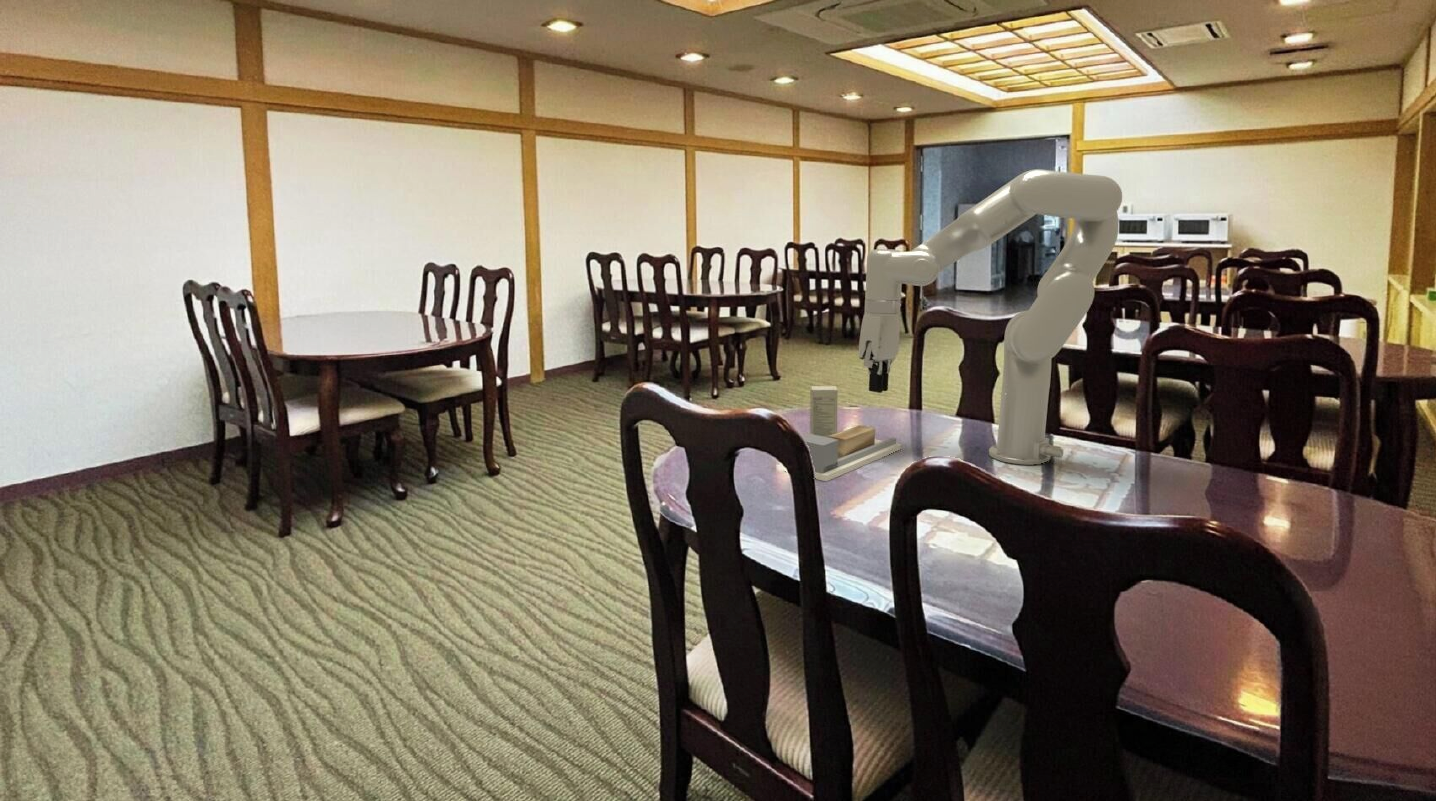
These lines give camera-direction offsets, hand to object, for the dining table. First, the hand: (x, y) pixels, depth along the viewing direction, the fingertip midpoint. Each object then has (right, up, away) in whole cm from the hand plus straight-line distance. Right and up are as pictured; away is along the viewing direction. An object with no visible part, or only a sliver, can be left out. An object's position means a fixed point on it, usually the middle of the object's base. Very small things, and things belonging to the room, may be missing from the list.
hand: (878, 390), depth 188 cm
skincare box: (-11, -11, +10) cm, 19 cm away
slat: (-7, -13, -5) cm, 16 cm away
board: (-8, -15, -6) cm, 18 cm away
